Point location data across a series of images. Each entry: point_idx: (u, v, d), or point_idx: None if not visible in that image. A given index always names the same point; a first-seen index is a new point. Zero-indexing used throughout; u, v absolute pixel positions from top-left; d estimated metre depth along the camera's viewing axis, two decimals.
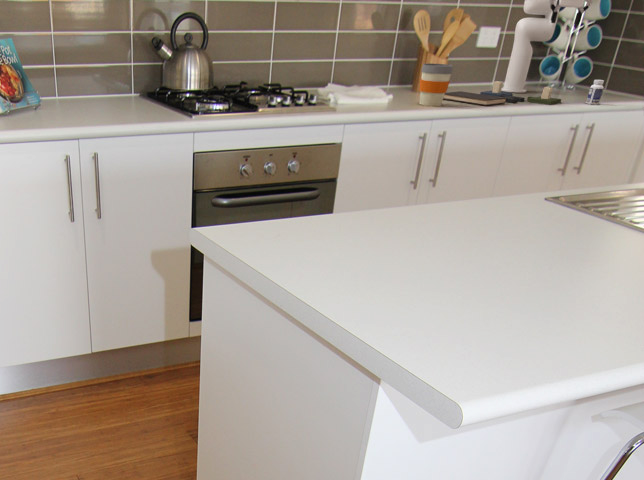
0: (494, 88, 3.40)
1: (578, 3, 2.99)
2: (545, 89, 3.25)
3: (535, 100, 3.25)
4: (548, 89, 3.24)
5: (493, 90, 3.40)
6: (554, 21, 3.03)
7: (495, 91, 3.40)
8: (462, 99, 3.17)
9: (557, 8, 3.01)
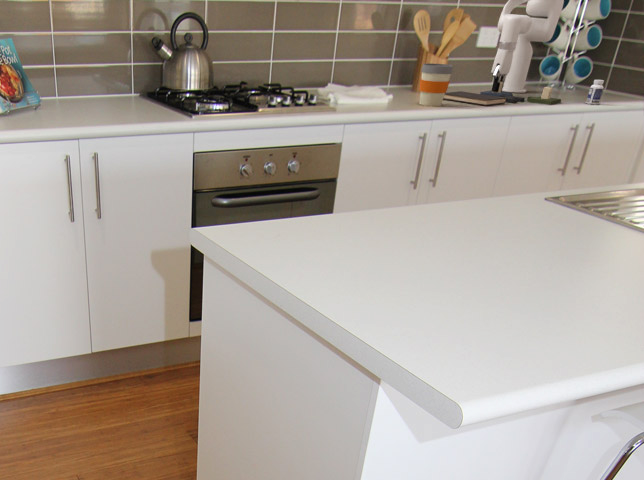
0: None
1: (508, 70, 3.36)
2: (545, 89, 3.25)
3: (535, 100, 3.25)
4: (548, 89, 3.24)
5: None
6: (498, 90, 3.38)
7: None
8: (462, 99, 3.17)
9: (500, 79, 3.36)
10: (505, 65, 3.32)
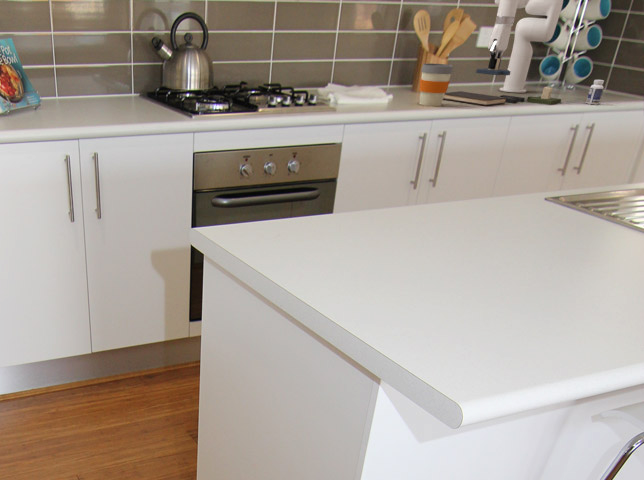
0: None
1: (505, 47, 3.23)
2: (545, 89, 3.25)
3: (535, 100, 3.25)
4: (548, 89, 3.24)
5: None
6: (495, 67, 3.25)
7: None
8: (462, 99, 3.17)
9: (497, 55, 3.22)
10: (502, 41, 3.18)
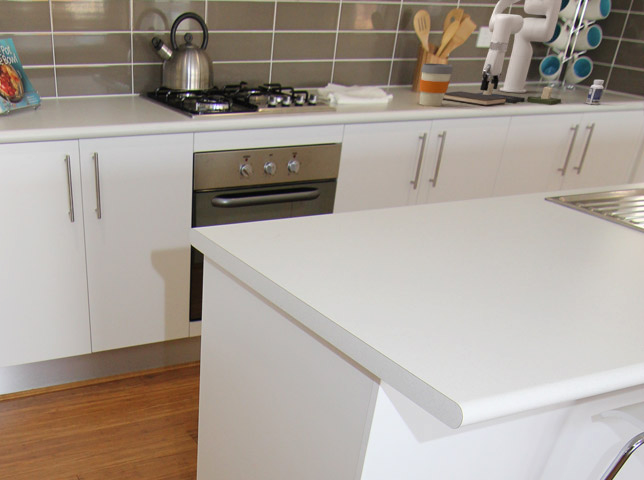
0: None
1: (499, 71, 3.28)
2: (545, 89, 3.25)
3: (535, 100, 3.25)
4: (548, 89, 3.24)
5: (484, 92, 3.32)
6: (487, 89, 3.28)
7: (486, 93, 3.32)
8: (462, 99, 3.17)
9: (489, 77, 3.25)
10: (496, 66, 3.24)
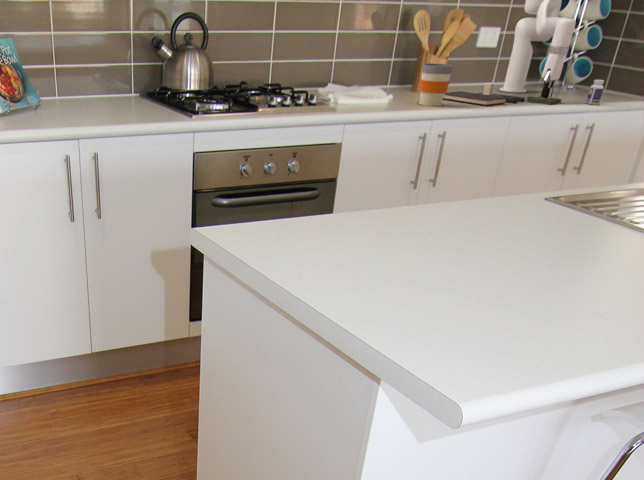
0: (485, 90, 3.31)
1: (558, 76, 3.23)
2: None
3: (535, 100, 3.25)
4: None
5: (484, 92, 3.32)
6: None
7: (486, 93, 3.32)
8: (462, 99, 3.17)
9: (550, 85, 3.23)
10: (556, 70, 3.19)
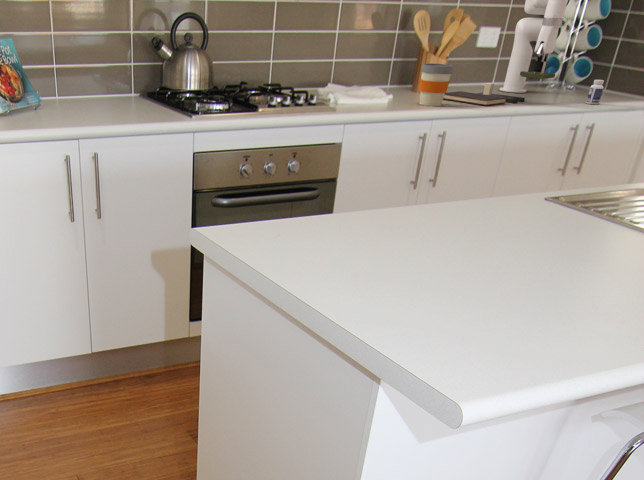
0: (485, 90, 3.31)
1: (552, 49, 3.11)
2: None
3: (528, 74, 3.13)
4: None
5: (484, 92, 3.32)
6: (541, 70, 3.13)
7: (486, 93, 3.32)
8: (462, 99, 3.17)
9: (543, 58, 3.11)
10: (549, 43, 3.06)
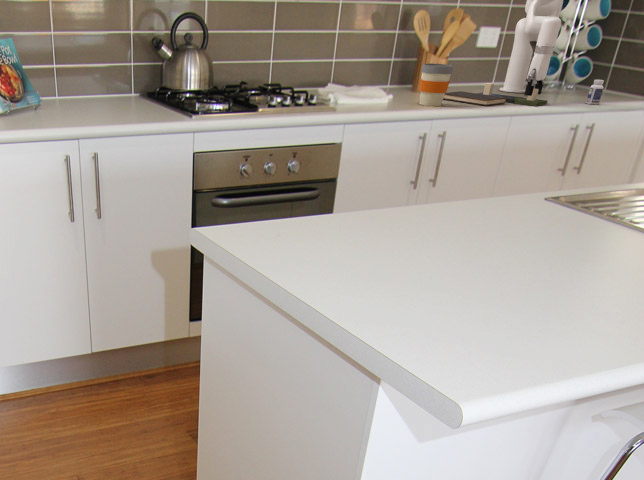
0: (485, 90, 3.31)
1: (544, 76, 3.17)
2: None
3: (520, 102, 3.19)
4: (534, 90, 3.18)
5: (484, 92, 3.32)
6: (531, 94, 3.16)
7: (486, 93, 3.32)
8: (462, 99, 3.17)
9: (534, 82, 3.14)
10: (542, 70, 3.12)
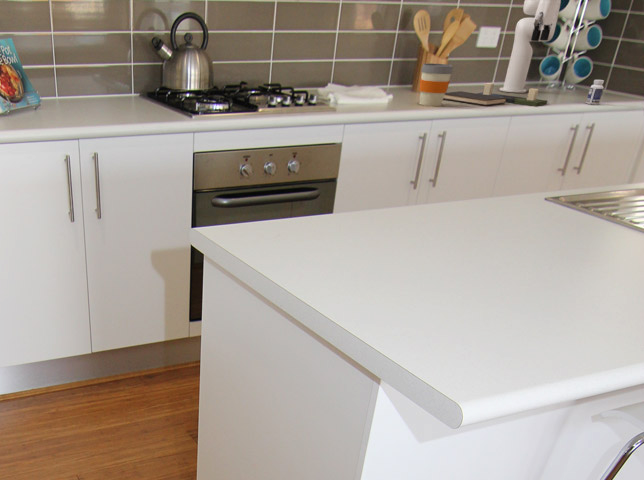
0: (485, 90, 3.31)
1: (551, 21, 3.10)
2: (531, 90, 3.19)
3: (520, 102, 3.19)
4: (534, 90, 3.18)
5: (484, 92, 3.32)
6: (538, 39, 3.10)
7: (486, 93, 3.32)
8: (462, 99, 3.17)
9: (541, 26, 3.07)
10: (549, 14, 3.06)
